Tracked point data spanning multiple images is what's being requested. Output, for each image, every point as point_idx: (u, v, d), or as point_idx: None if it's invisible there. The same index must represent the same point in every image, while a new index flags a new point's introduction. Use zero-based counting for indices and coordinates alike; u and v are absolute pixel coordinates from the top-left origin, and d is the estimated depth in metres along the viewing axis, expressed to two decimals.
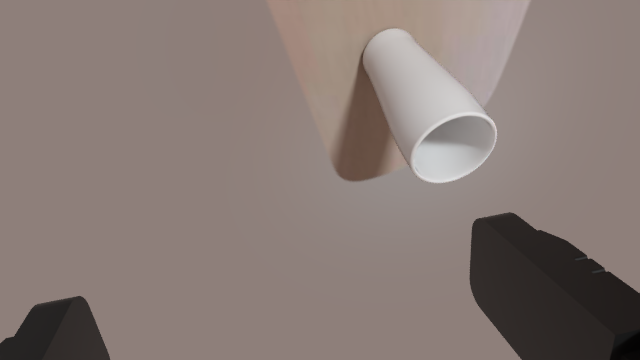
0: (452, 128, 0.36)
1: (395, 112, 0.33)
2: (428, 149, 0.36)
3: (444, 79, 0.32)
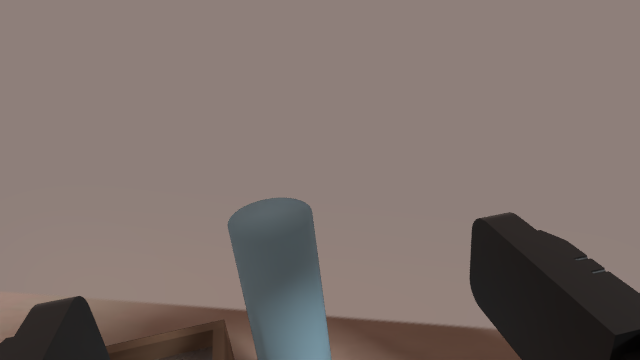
0: None
1: None
2: None
3: None
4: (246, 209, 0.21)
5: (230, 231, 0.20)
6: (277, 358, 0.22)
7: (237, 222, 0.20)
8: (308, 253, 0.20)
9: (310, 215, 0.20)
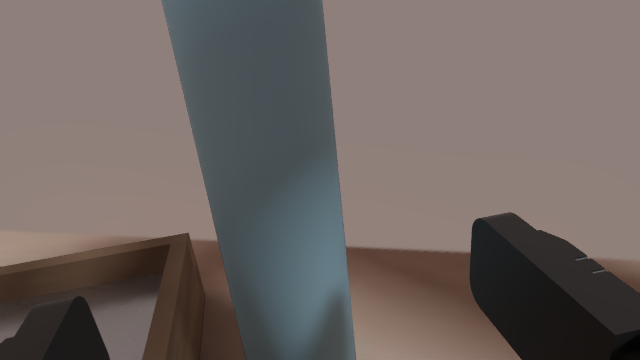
0: None
1: None
2: None
3: None
4: None
5: None
6: (248, 228, 0.12)
7: None
8: (308, 0, 0.10)
9: None
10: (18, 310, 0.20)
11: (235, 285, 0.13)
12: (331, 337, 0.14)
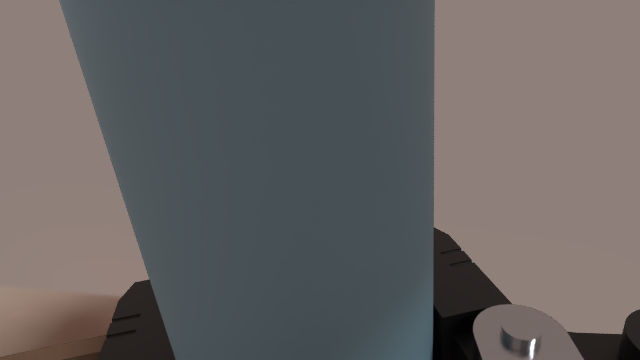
0: None
1: None
2: None
3: None
4: None
5: None
6: None
7: None
8: (421, 0, 0.04)
9: None
10: None
11: None
12: None
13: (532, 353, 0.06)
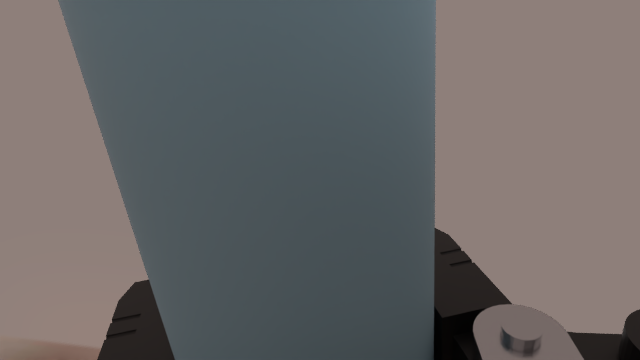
0: None
1: None
2: None
3: None
4: None
5: None
6: None
7: None
8: (423, 5, 0.04)
9: None
10: None
11: None
12: None
13: (532, 353, 0.06)
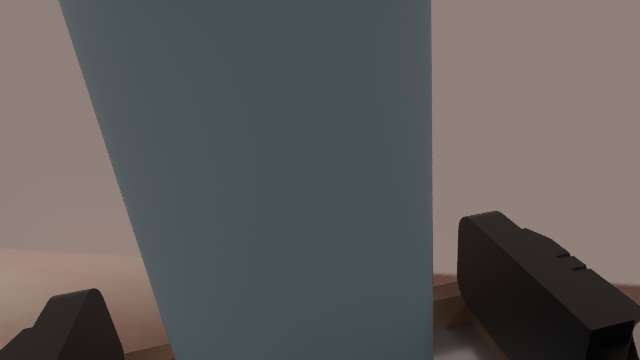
0: None
1: None
2: None
3: None
4: None
5: None
6: None
7: None
8: (419, 101, 0.04)
9: None
10: None
11: None
12: None
13: None
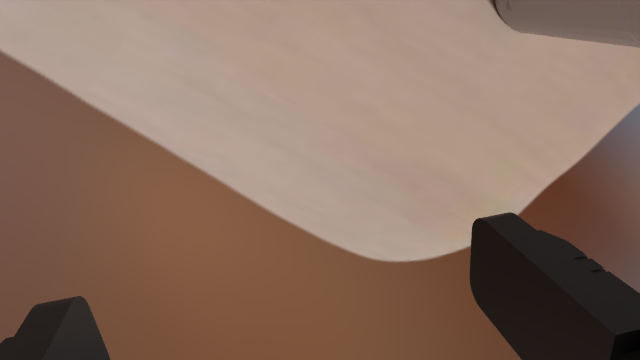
0: None
1: None
2: None
3: None
4: None
5: None
6: None
7: None
8: None
9: None
10: None
11: None
12: None
13: None
